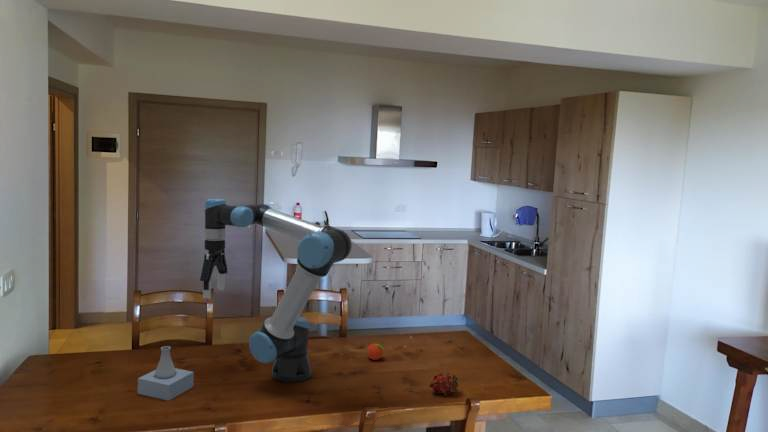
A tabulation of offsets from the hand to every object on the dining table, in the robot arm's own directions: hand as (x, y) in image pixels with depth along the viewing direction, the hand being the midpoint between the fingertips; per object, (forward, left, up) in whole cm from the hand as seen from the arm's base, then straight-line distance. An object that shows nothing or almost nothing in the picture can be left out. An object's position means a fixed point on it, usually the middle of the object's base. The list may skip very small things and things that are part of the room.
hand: (214, 294), depth 212 cm
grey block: (+7, +21, -31) cm, 38 cm away
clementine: (-60, -30, -31) cm, 74 cm away
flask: (+7, +21, -25) cm, 34 cm away
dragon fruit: (-90, -3, -31) cm, 95 cm away
